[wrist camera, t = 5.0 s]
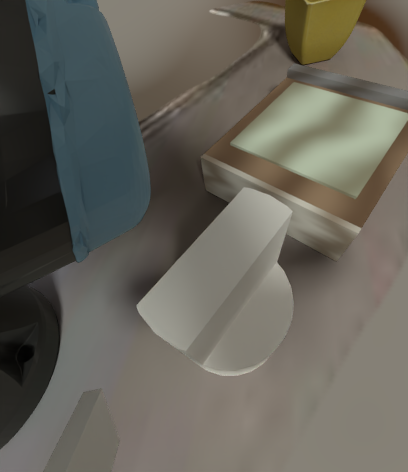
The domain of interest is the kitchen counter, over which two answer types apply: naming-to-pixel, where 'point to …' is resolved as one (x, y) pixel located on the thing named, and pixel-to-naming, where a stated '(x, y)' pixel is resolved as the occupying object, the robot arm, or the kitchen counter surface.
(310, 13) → the flower pot
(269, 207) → the cylinder with rectangular tab
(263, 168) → the dock
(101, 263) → the kitchen counter surface
